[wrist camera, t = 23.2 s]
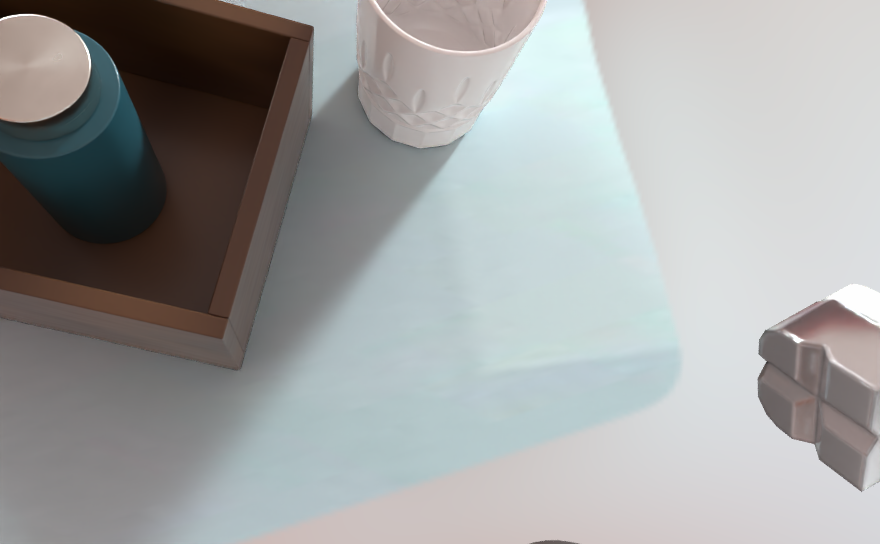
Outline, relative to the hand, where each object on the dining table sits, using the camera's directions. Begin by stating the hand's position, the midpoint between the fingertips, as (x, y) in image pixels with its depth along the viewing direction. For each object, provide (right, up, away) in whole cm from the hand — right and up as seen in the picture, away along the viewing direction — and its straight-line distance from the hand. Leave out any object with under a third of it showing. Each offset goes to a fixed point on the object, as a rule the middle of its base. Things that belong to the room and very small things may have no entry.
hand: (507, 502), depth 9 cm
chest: (-16, +7, +27) cm, 32 cm away
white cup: (-2, +12, +31) cm, 33 cm away
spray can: (-16, +7, +26) cm, 31 cm away
